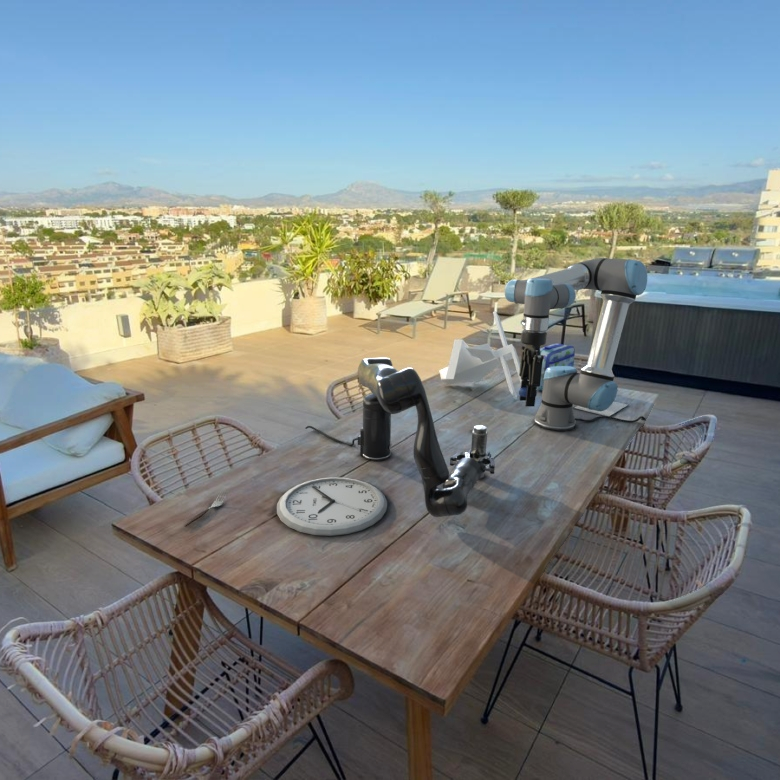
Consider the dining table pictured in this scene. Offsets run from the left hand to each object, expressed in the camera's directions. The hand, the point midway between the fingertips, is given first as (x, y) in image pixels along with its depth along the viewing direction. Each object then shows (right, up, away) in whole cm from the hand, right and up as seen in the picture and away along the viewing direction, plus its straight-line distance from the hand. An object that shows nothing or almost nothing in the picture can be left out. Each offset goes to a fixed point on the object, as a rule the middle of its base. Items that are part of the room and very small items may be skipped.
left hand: (480, 453), depth 162 cm
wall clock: (-44, -12, -19) cm, 49 cm away
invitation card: (+63, +12, +64) cm, 91 cm away
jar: (-1, -7, 0) cm, 7 cm away
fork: (-77, -13, -24) cm, 81 cm away
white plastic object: (+14, +18, +81) cm, 85 cm away
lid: (+15, +19, +3) cm, 25 cm away
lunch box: (+49, +20, +90) cm, 105 cm away
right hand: (+15, +15, +4) cm, 22 cm away
